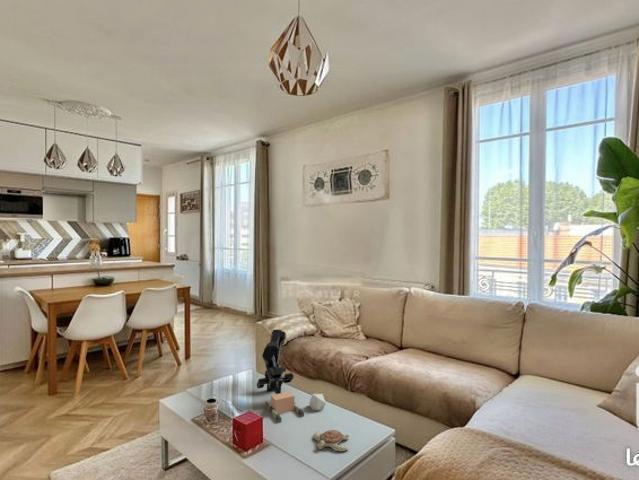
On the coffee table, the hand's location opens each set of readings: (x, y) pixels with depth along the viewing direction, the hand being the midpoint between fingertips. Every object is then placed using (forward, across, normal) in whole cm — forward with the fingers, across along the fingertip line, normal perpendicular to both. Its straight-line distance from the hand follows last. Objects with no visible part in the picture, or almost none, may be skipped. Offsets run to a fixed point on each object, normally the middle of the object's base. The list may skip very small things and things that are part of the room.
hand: (279, 396), depth 186 cm
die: (+11, +17, -2) cm, 20 cm away
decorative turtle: (+32, +8, -21) cm, 39 cm away
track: (+8, 0, +1) cm, 8 cm away
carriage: (+6, 0, +1) cm, 6 cm away
